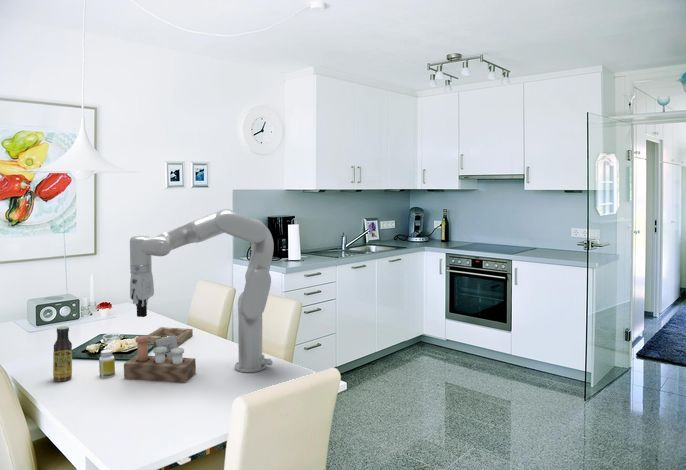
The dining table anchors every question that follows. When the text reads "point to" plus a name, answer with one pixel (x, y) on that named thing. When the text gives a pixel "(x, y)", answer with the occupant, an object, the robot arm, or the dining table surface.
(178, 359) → the grey plug
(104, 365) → the supplement bottle
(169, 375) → the block
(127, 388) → the dining table surface
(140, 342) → the terracotta plug
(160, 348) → the grey plug
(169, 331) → the square wooden frame
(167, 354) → the electrical switch
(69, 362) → the sauce bottle
